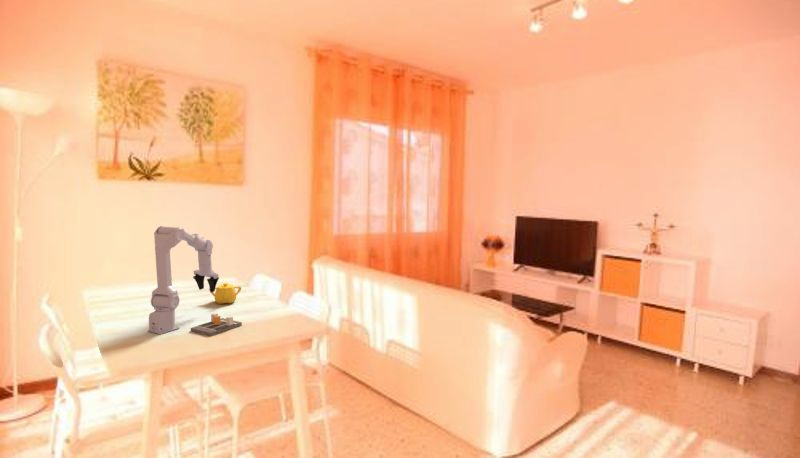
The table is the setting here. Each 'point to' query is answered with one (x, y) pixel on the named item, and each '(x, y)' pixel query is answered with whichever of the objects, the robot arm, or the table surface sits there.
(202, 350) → the table surface
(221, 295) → the teapot
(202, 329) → the panel
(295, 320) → the table surface
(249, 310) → the table surface
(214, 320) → the breaker
